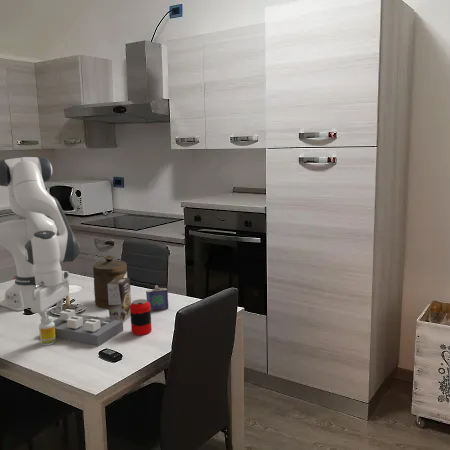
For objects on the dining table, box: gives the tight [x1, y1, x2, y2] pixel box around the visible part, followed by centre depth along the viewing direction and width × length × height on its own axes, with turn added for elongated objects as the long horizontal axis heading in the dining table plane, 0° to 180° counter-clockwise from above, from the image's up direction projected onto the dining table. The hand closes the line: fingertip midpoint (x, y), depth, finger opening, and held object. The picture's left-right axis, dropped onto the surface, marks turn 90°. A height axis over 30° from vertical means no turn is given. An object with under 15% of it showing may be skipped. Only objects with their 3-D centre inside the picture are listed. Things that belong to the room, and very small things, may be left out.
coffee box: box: [107, 277, 132, 323], centre depth 200 cm, size 9×6×16 cm
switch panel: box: [52, 313, 124, 347], centre depth 187 cm, size 32×15×4 cm, turn 66°
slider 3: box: [84, 319, 101, 332], centre depth 178 cm, size 4×4×3 cm
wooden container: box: [92, 255, 128, 310], centre depth 218 cm, size 15×15×22 cm
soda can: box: [130, 298, 152, 336], centre depth 186 cm, size 8×8×12 cm
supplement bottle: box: [38, 315, 57, 346], centre depth 178 cm, size 5×5×10 cm
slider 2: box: [67, 316, 83, 329], centre depth 181 cm, size 4×4×3 cm
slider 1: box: [59, 308, 76, 321], centre depth 189 cm, size 4×4×3 cm
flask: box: [145, 284, 169, 312], centre depth 209 cm, size 9×3×11 cm, turn 104°
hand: (52, 316), depth 170 cm, fingers open, 8 cm apart
